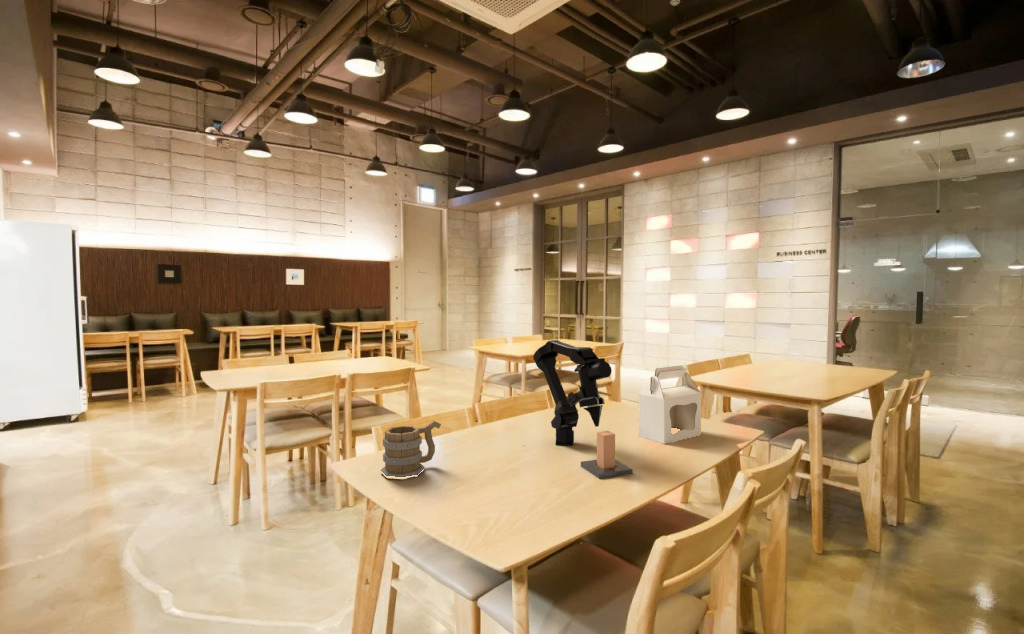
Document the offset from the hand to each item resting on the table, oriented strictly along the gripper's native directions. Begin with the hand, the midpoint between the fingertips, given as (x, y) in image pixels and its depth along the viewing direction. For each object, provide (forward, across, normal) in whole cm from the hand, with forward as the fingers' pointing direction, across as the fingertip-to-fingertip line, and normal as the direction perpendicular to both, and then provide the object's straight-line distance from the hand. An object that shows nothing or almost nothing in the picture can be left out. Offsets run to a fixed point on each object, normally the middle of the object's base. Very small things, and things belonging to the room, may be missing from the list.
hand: (597, 426), depth 167 cm
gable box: (+9, -36, +22) cm, 43 cm away
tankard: (+4, +28, -57) cm, 64 cm away
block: (+14, +10, +2) cm, 17 cm away
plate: (+14, +10, +2) cm, 17 cm away
